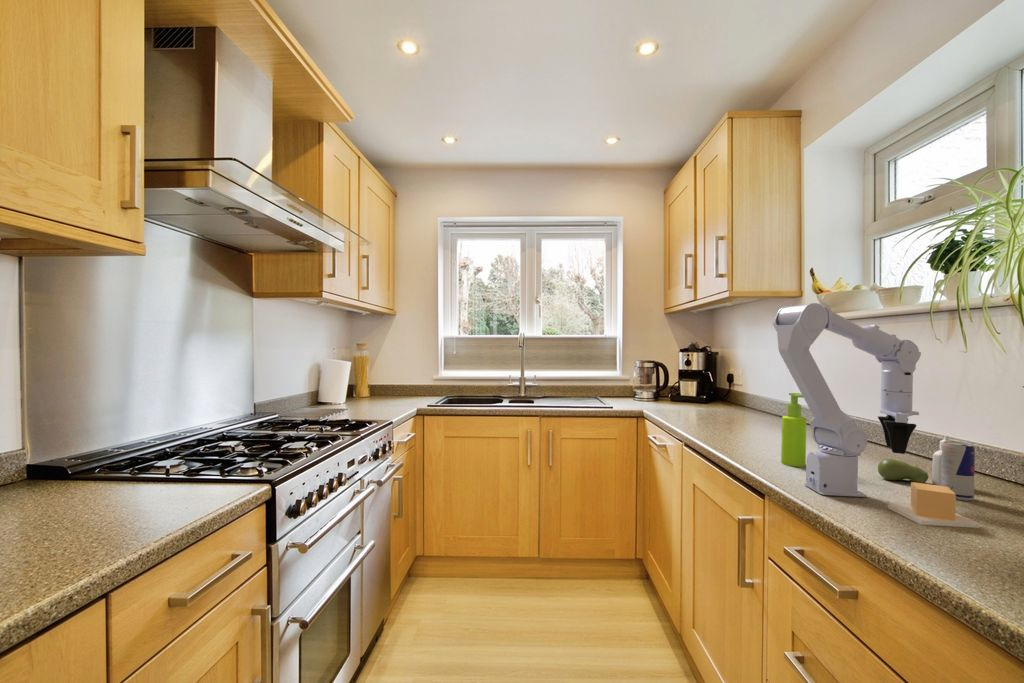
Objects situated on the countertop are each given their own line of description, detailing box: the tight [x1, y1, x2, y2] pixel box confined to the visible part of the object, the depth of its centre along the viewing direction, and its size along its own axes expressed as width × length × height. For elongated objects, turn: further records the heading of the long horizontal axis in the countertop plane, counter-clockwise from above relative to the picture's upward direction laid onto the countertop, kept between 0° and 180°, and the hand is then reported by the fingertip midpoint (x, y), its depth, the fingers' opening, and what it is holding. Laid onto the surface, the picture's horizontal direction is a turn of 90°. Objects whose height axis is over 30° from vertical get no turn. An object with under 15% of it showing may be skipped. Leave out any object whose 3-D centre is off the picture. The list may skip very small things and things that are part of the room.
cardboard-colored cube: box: [910, 481, 957, 521], centre depth 93 cm, size 6×6×5 cm
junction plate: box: [887, 503, 980, 529], centre depth 93 cm, size 10×9×4 cm
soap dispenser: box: [780, 392, 807, 468], centre depth 134 cm, size 6×7×20 cm
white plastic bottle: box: [931, 435, 951, 486], centre depth 116 cm, size 4×6×12 cm
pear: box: [877, 458, 929, 484], centre depth 119 cm, size 6×5×10 cm
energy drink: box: [941, 440, 976, 502], centre depth 106 cm, size 5×5×12 cm
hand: (895, 450), depth 111 cm, fingers open, 7 cm apart
